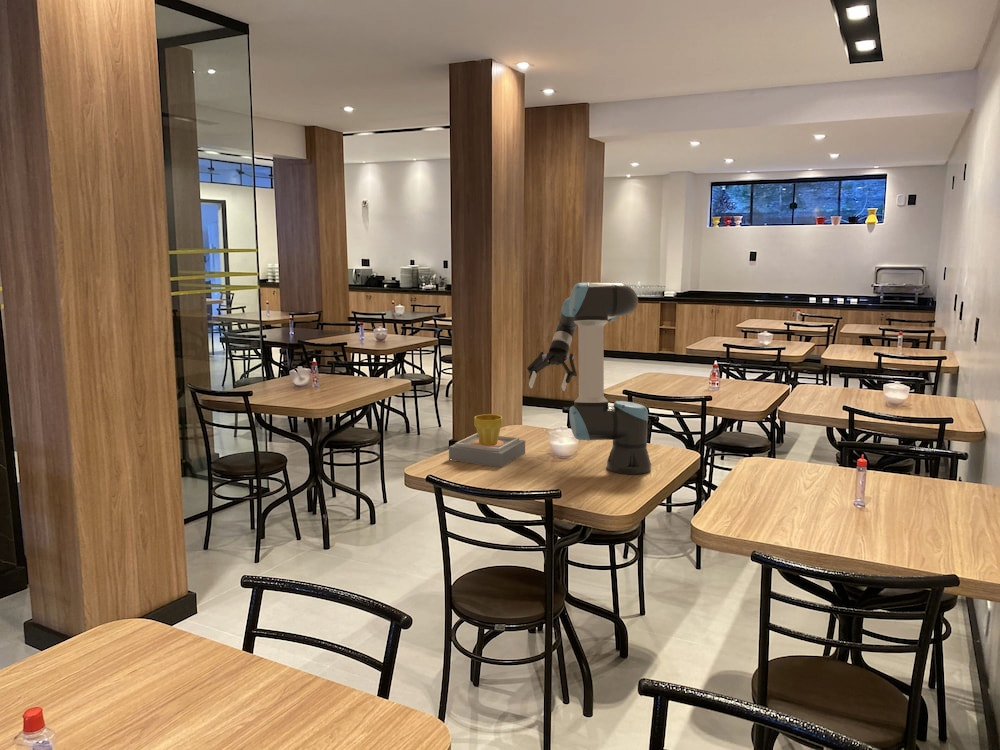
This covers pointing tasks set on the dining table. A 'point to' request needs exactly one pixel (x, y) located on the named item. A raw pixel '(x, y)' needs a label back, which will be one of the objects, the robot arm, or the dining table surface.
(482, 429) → the plant pot
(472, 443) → the grey square tray
